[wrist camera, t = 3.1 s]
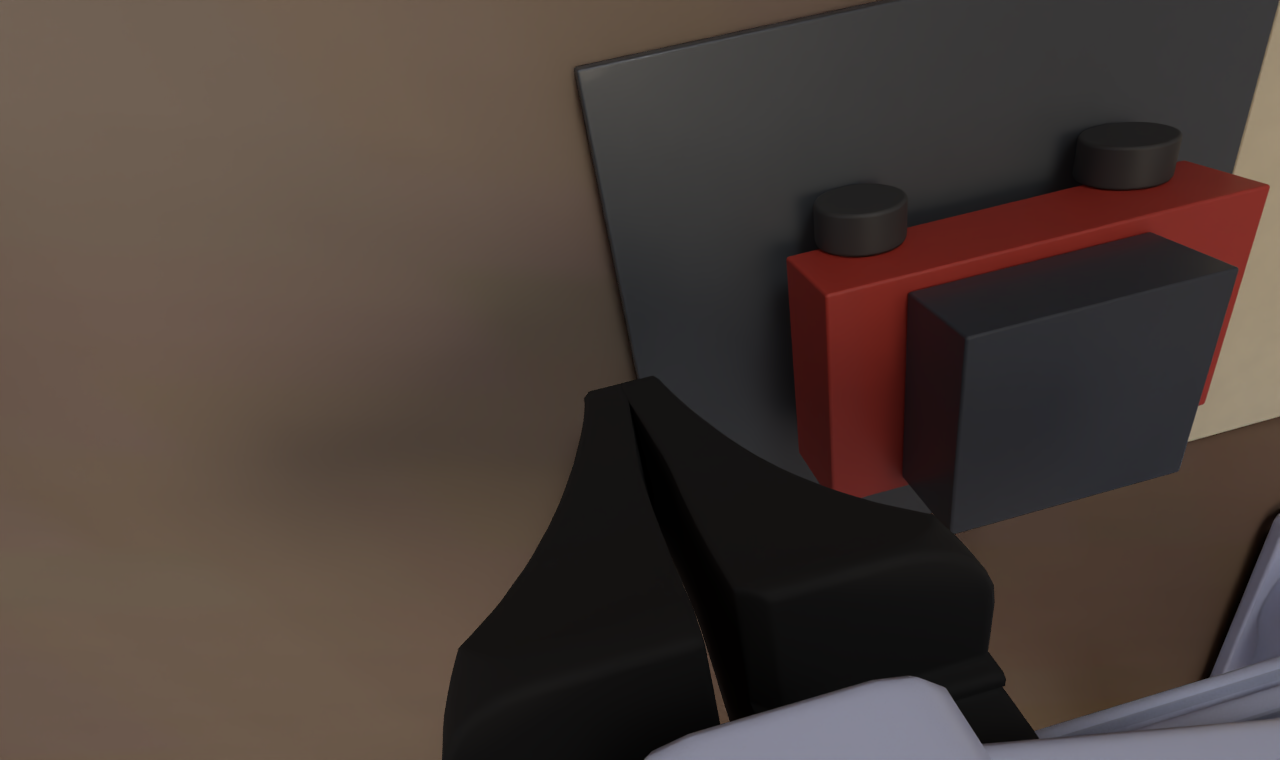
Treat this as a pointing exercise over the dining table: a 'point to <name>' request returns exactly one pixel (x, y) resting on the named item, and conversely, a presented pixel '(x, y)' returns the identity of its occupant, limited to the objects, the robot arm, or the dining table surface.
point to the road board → (904, 167)
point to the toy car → (1019, 331)
